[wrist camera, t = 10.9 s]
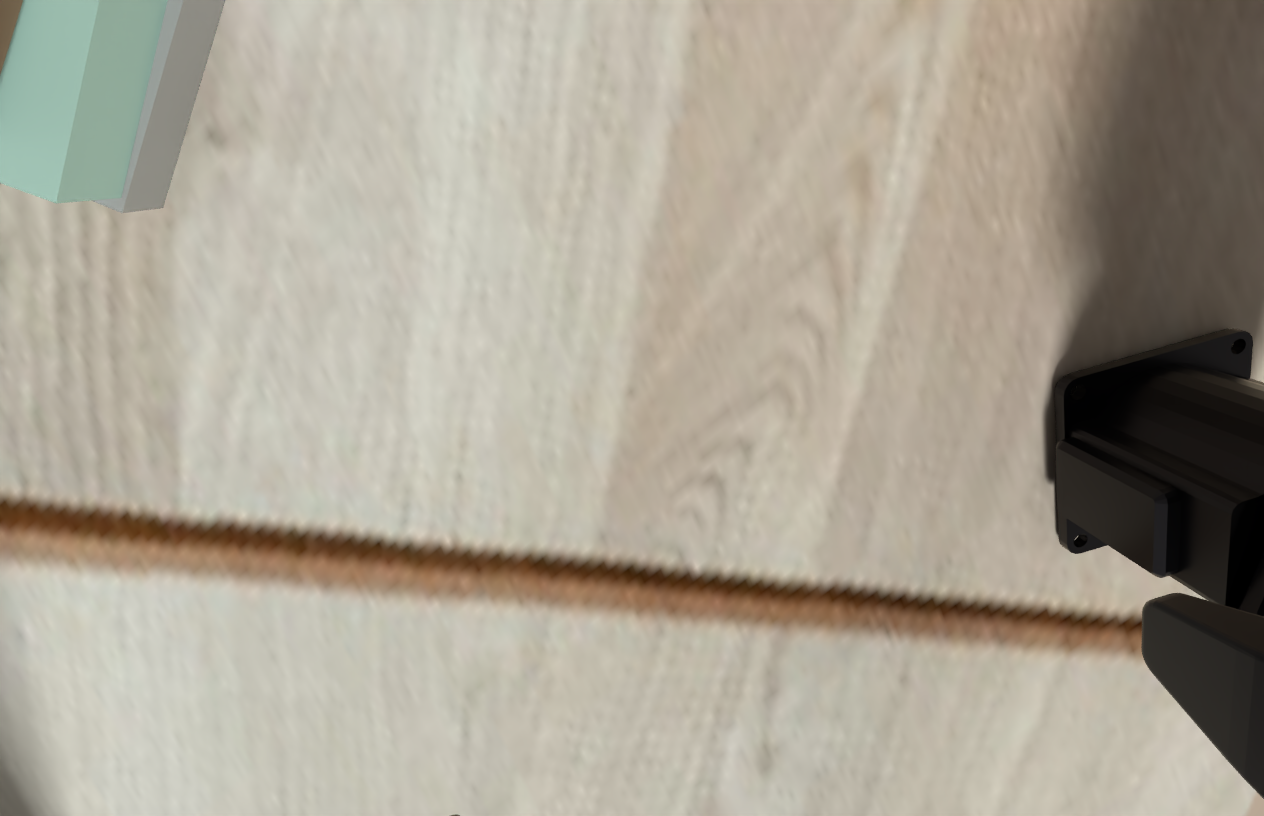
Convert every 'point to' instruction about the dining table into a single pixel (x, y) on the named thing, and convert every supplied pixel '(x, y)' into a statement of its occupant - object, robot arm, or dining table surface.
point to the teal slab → (75, 95)
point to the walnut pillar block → (7, 25)
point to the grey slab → (168, 102)
